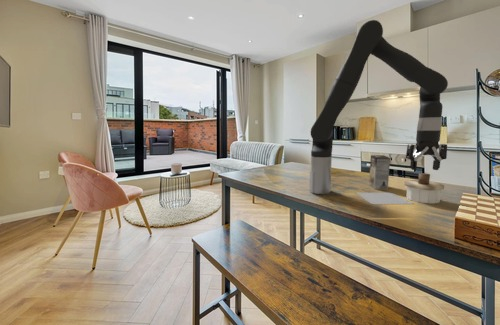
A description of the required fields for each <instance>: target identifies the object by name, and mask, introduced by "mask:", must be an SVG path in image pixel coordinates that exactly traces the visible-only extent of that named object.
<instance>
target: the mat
mask: <svg viewBox="0 0 500 325" xmlns="http://www.w3.org/2000/svg"><path fill="white" fill-rule="evenodd" d="M355 193H356V194H357V195H358V197H361V199H364V200H365V201H366V202H368V203H370V204H371V205H415V204H414V202H413V201H412V202H411V200H410V201H409V199H405V198H404V197H401V196H399V195H397V194H395V193H394V192H355Z"/></svg>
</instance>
